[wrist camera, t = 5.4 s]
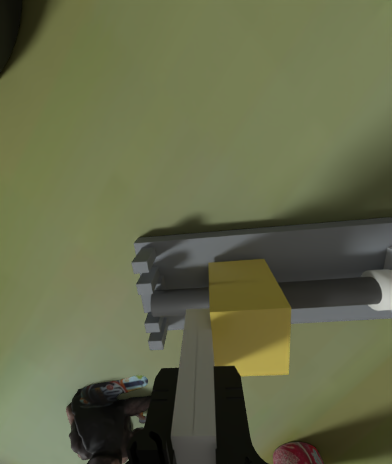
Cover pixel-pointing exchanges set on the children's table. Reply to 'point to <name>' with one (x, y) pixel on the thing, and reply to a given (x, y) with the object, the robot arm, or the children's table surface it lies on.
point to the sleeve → (249, 318)
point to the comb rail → (272, 270)
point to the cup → (297, 454)
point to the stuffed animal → (105, 420)
